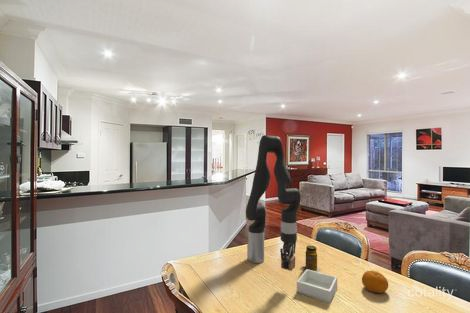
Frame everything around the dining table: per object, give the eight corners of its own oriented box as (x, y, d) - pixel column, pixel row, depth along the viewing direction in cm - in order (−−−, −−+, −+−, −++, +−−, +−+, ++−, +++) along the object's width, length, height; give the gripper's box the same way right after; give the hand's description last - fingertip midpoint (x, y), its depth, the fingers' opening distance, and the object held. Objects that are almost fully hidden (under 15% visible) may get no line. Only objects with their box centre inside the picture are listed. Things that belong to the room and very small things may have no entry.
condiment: (320, 269, 131) (320, 247, 131) (310, 274, 126) (310, 251, 126) (309, 264, 137) (309, 243, 137) (299, 268, 133) (299, 246, 133)
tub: (296, 292, 109) (296, 281, 109) (306, 279, 121) (306, 269, 121) (330, 303, 101) (330, 291, 101) (337, 287, 113) (337, 277, 113)
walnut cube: (281, 267, 114) (281, 257, 114) (285, 263, 118) (285, 253, 118) (291, 271, 111) (291, 260, 111) (295, 266, 115) (295, 256, 115)
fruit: (388, 299, 104) (388, 280, 104) (361, 292, 110) (361, 274, 110) (388, 288, 113) (388, 270, 113) (362, 281, 118) (362, 265, 118)
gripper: (287, 225, 122) (286, 258, 123) (274, 233, 110) (274, 269, 111) (301, 228, 118) (300, 262, 118) (290, 236, 106) (289, 274, 107)
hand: (288, 265), depth 115 cm, fingers closed on walnut cube, 5 cm apart
